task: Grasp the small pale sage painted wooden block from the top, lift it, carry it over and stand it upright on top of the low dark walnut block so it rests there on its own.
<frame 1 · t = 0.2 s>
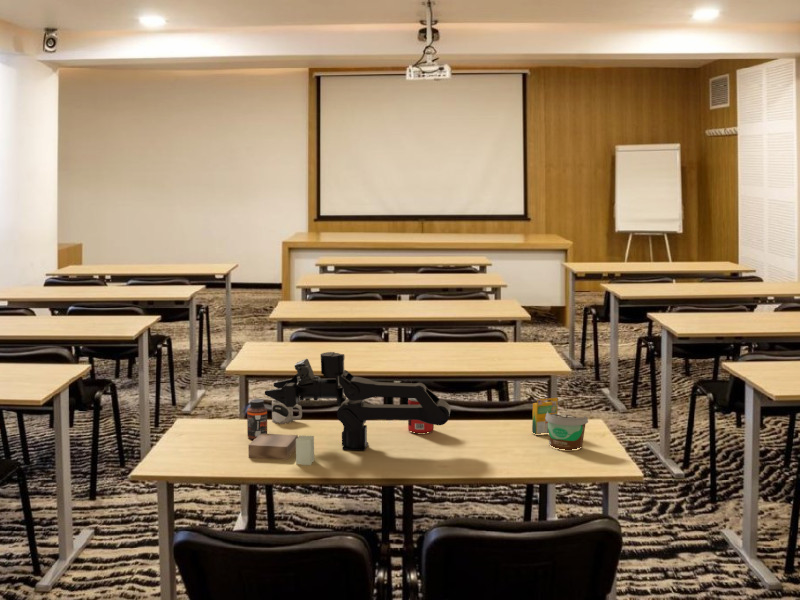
hand: (269, 388, 228), 17 cm above the table, tool horizontal, fingers open, 9 cm apart
crayon box: (544, 434, 241), on the table
walnut block: (273, 453, 222), on the table
supplement bottle: (257, 437, 236), on the table
canned food: (420, 431, 243), on the table
mug: (287, 421, 253), on the table
sage block: (305, 462, 214), on the table
food container: (564, 449, 227), on the table
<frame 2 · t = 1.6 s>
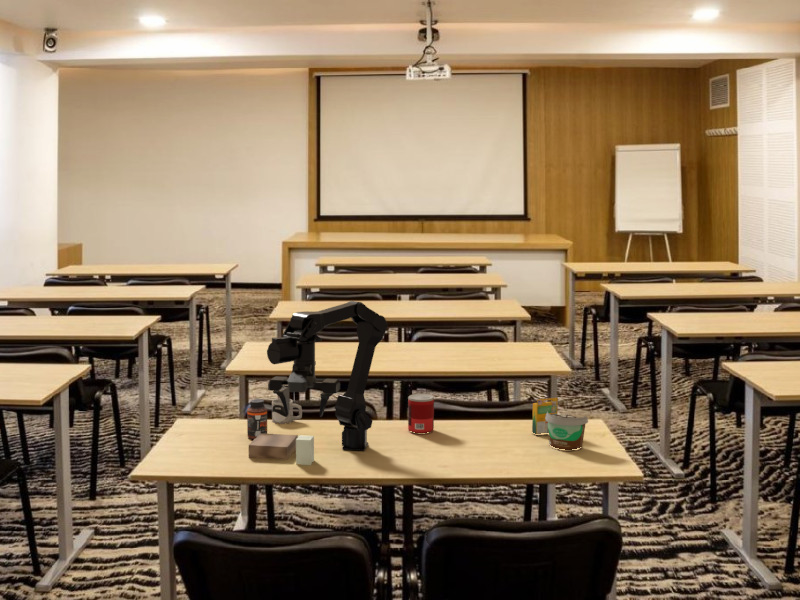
hand: (304, 415, 212), 13 cm above the table, tool pointing down, fingers open, 9 cm apart
nothing on the table moved.
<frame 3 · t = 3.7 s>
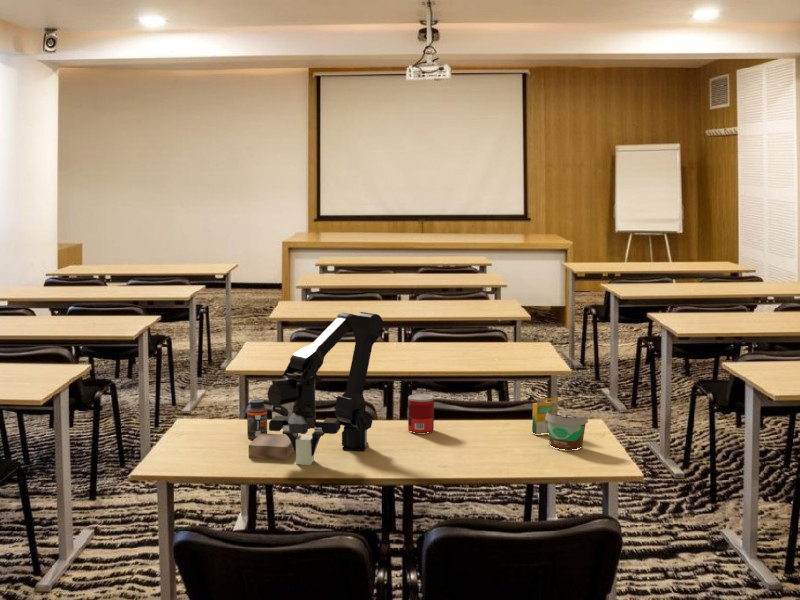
hand: (305, 455, 213), 2 cm above the table, tool pointing down, fingers closed on sage block, 4 cm apart
sage block: (305, 462, 213), on the table, touching gripper
everything else where it was.
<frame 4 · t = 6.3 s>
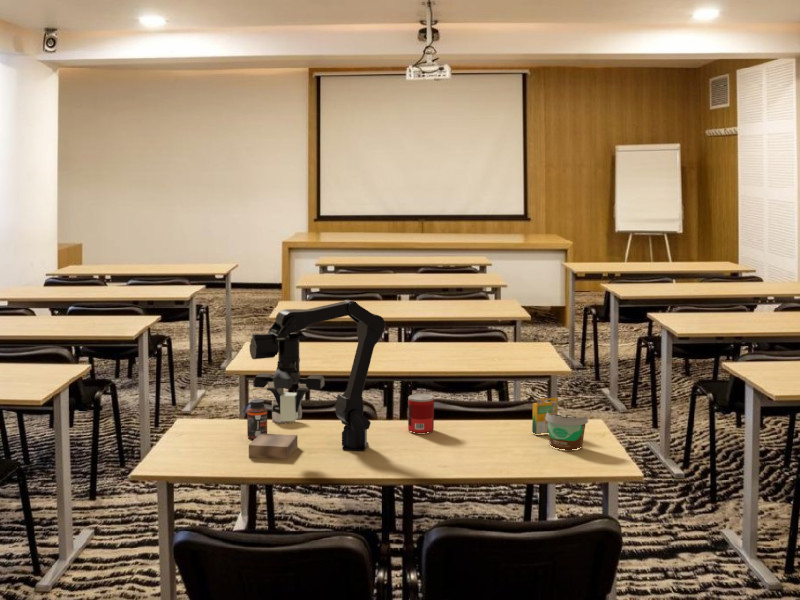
hand: (289, 411, 216), 13 cm above the table, tool pointing down, fingers closed on sage block, 4 cm apart
sage block: (289, 419, 216), point 11 cm above the table, touching gripper
everything else where it was.
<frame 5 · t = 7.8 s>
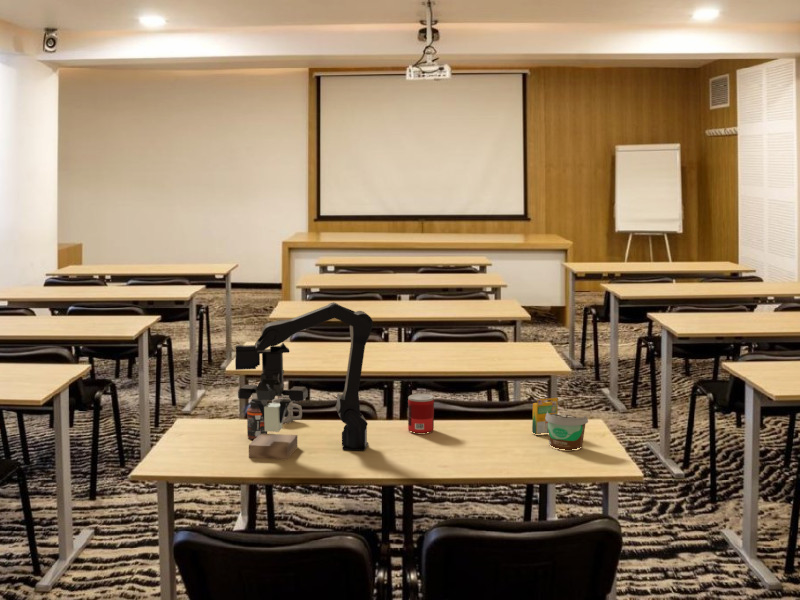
hand: (273, 422, 221), 9 cm above the table, tool pointing down, fingers closed on sage block, 4 cm apart
sage block: (273, 429, 221), point 7 cm above the table, touching gripper
everything else where it was.
when the fingers open (7 cm above the table, at t = 8.8 s): sage block drops 2 cm, resting on walnut block.
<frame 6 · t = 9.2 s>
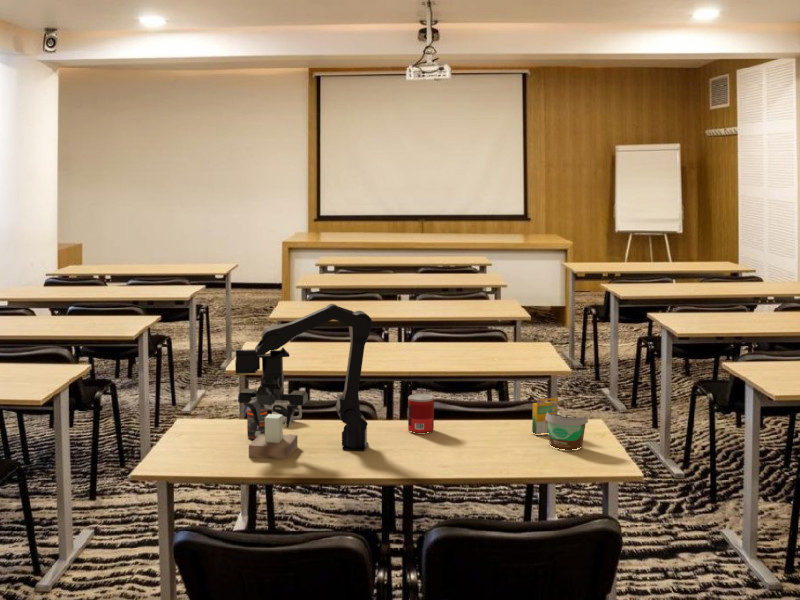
hand: (273, 426, 221), 7 cm above the table, tool pointing down, fingers open, 8 cm apart
walnut block: (273, 453, 222), on the table, touching sage block
sage block: (274, 440, 221), point 4 cm above the table, touching walnut block
everything else where it was.
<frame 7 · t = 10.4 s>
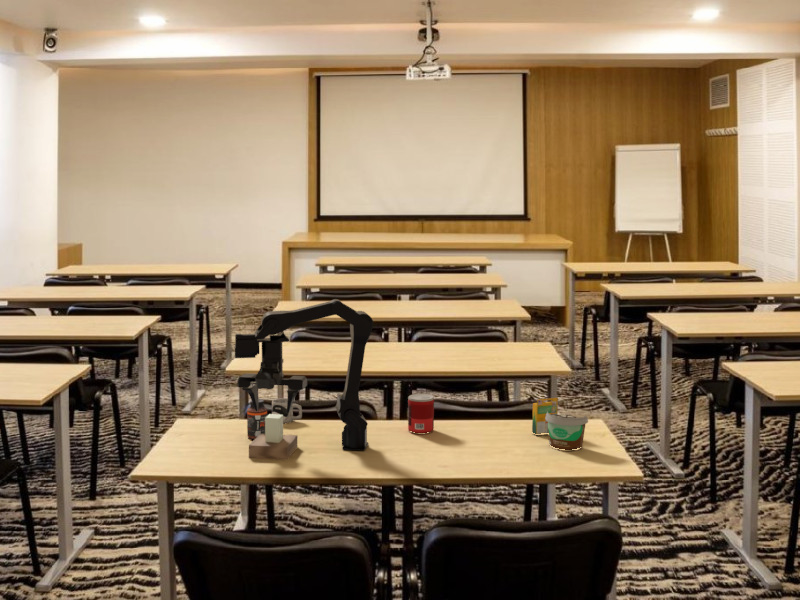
hand: (272, 411, 220), 12 cm above the table, tool pointing down, fingers open, 9 cm apart
nothing on the table moved.
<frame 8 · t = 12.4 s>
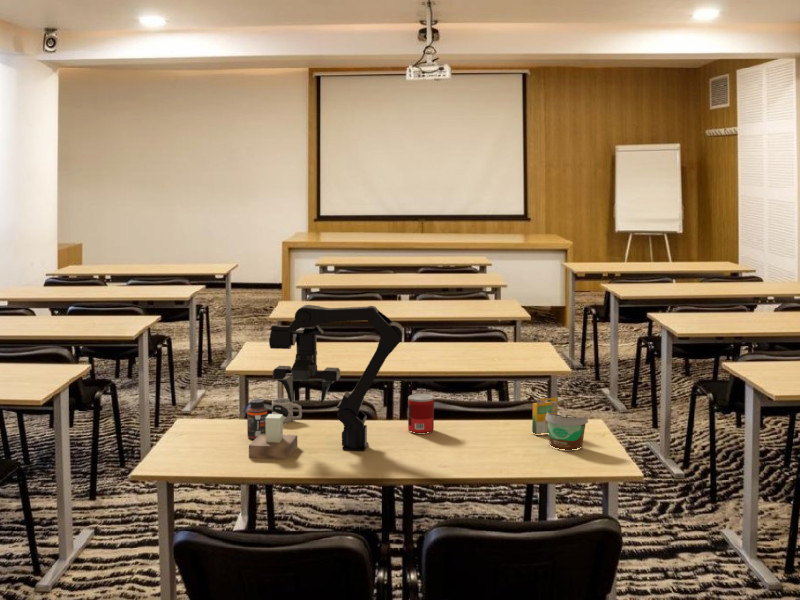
hand: (306, 402, 226), 13 cm above the table, tool pointing down, fingers open, 9 cm apart
nothing on the table moved.
at the end: sage block inside the target area on the walnut block (0.2 cm from its centre), point 4.0 cm above the walnut block's base; sage block tilted 1°; the gripper is holding nothing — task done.
